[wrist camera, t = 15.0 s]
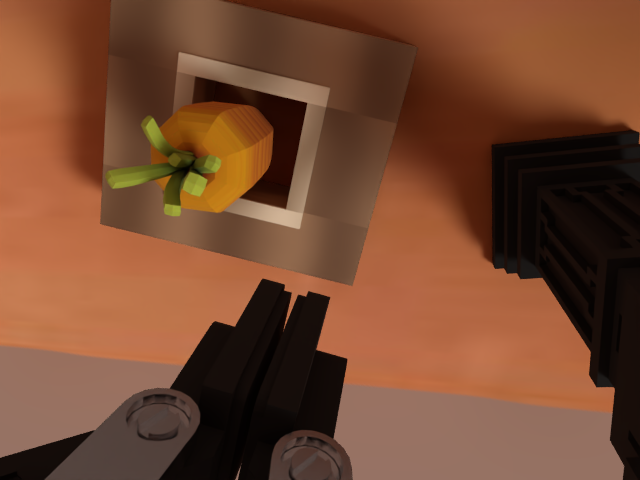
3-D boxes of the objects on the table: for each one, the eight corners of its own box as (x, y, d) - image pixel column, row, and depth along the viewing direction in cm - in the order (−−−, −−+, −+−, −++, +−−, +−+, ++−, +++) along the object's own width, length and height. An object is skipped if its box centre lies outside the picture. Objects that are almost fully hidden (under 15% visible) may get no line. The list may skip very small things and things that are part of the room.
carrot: (208, 144, 33) (72, 211, 19) (239, 73, 31) (114, 90, 17) (276, 181, 33) (190, 274, 20) (311, 112, 32) (243, 161, 18)
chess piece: (492, 263, 34) (622, 537, 16) (491, 144, 31) (650, 311, 13) (621, 254, 33) (923, 539, 15) (633, 130, 30) (1029, 290, 12)
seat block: (413, 45, 30) (418, 47, 26) (355, 258, 35) (352, 287, 31) (145, -19, 30) (110, -26, 26) (129, 203, 35) (98, 225, 32)
